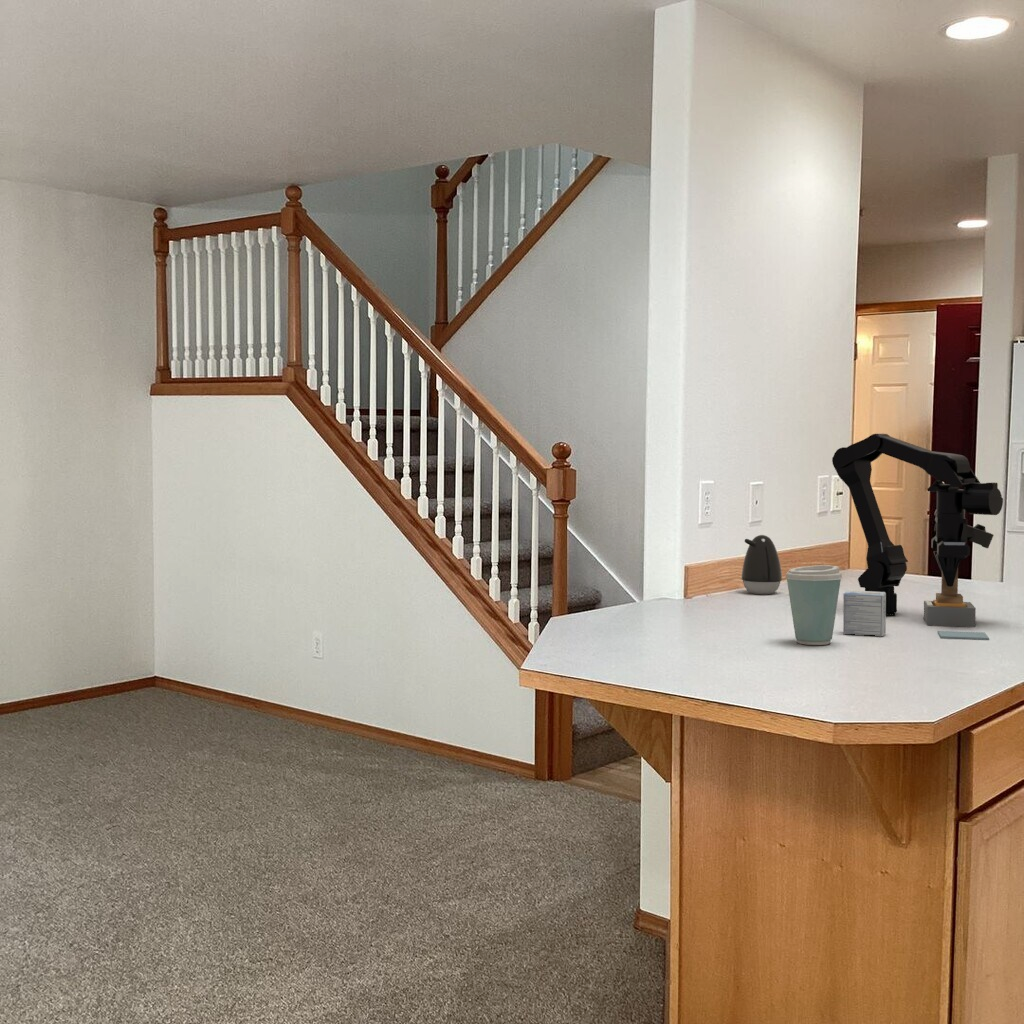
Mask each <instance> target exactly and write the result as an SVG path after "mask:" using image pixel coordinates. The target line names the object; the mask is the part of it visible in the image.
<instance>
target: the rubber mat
mask: <svg viewBox="0 0 1024 1024" xmlns="http://www.w3.org/2000/svg"><path fill="white" fill-rule="evenodd" d="M937 634H938V636H939V638H940V639H948V640H949V639H951V640H952V639H954V640H957V639H958V640H978V641H979V640H981V641H989V640H990V637H989V636H988V634H986V632H981V631H979V632H978V631H958V630H957V631H953V630H937Z"/></svg>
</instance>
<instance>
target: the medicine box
mask: <svg viewBox="0 0 1024 1024" xmlns="http://www.w3.org/2000/svg"><path fill="white" fill-rule="evenodd" d="M842 597H843V598H842V599H843V601H842V602H843V603H842V604H843V606H842V607H843V609H842V610H843V613H842V615H843V617H842V620H843V623H842V624H843V625H842V626H843V627H842V629H843V632H842V634H843V635H845V634H855V635H854V636H864V635H875V636H874V637H881V636H883V635H884V636H885V634H886V632H887V629H886V628H887V627H886V626H887V620H886V619H887V617H886V616H887V615H886V593H885V592H873V591H865V590H846V591H845V592H844V593H843V594H842ZM884 636H883V637H884Z"/></svg>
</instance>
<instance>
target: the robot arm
mask: <svg viewBox="0 0 1024 1024" xmlns="http://www.w3.org/2000/svg"><path fill="white" fill-rule="evenodd" d="M882 454H883V455H886V456H889V457H891V458H894V459H897V460H900V461H902V462H905V463H908V464H911V465H914V466H916V467H918V468H920V469H921V470H923V471H924V472H925V473H926V474H928V476H931V477H933V478H934V479H935V480H934V482H933V484H931V485H930V486H929V487H927V492H932V493H933V492H934V493H935V492H936V516H935V524H936V525H935V528H936V529H935V533H936V534H935V536H934V537H932V538H931V542H930V543H931V544H930V545H931V546H930V547H931V548H932V549H933V554H934V557H935V561H936V562H937V564H938V567H939V570H940V572H941V574H942V573H943V575H944V578H945V581H946V584H947V586H951V587H952V586H953V584H954V580H955V576H956V572H957V568H958V569H959V565H960V563H961V562H962V561H963V560H964V559H967V557H969V556H971V546H970V545H969V544H968V542H972V543H973V544H977V545H979V546H981V547H983V548H984V549H989V548H990V545H991V543H992V540H993V538H994V534H993V533H991V532H988V531H987V530H986V526H984V525H982V524H979V523H977V524H975V526H971V525H969V524H968V519H967V518H966V513H967V514H969V515H983V516H984V515H985V516H987V515H988V516H997V515H999V514H1000V513H1001V511H1002V509H1003V505H1004V498H1003V494H1002V493H1001V491H1000V489H999V488H998V486H999V483H998V482H986V483H985V482H984V483H983V482H981V481H980V480H979V478H978V477H977V475H976V474H975V472H974V471H973V470H972V468H971V463H970V461H969V459H968V458H967V457H966V456H965V455H962V454H957V453H950V452H941V451H934V450H933V451H932V450H930V449H927V448H924V447H921V446H918V445H915V444H913V443H910V442H907V441H904V440H902V439H898V438H896V437H893V436H890V435H889V434H887V433H873V434H871V435H869V436H868V437H866V438H864V439H862V440H859V441H857V442H855V443H851V444H850V445H848V446H847V447H846V446H845V447H840V448H838V449H836V451H835V452H834V454H833V456H832V458H831V460H832V461H831V462H832V465H833V468H834V470H835V472H836V473H837V476H838V477H839V479H841V481H842V482H843V483H844V484H845V485H846V486H847V487H848V489H849V492H850V496H851V498H852V501H853V504H854V507H855V509H856V513H857V516H858V519H859V522H860V526H861V528H862V531H863V534H864V537H865V540H866V542H867V543H866V544H867V550H866V551H867V553H866V559H865V560H866V564H867V565H866V566H867V569H866V570H865V571H864V572H862V574H861V575H859V576H858V578H857V582H858V584H859V587H860V588H863V589H864V591H873V592H885V593H886V616H896V615H895V614H896V613H897V611H898V610H897V609H898V607H897V606H898V604H897V603H898V594H897V592H895V587H900V583H901V581H902V578H903V577H904V576H905V574H906V572H907V570H908V566H907V563H908V562H909V560H908V559H907V558H906V556H905V552H904V548H903V545H902V544H896V545H895V544H894V543H893V542H892V541H891V539H890V537H889V534H888V531H887V529H886V525H885V523H884V519H883V516H882V513H881V511H880V508H879V505H878V502H877V498H876V496H875V493H874V490H873V487H872V484H871V478H872V477H871V476H872V462H874V461H875V460H878V459H879V458H880V457H881V456H882ZM944 482H945V483H944ZM961 488H963V489H961ZM935 549H936V550H935Z"/></svg>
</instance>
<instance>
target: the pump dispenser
mask: <svg viewBox="0 0 1024 1024" xmlns="http://www.w3.org/2000/svg"><path fill="white" fill-rule="evenodd" d="M744 543H745V544H747V545H748V548H747V550H746V552H745V556H744V558H743V559H744V560H743V564H742V571H741V580H742V582H743V583H742V584H743V586H744V588H745V589H746V591H747V592H749V593H750V594H753V595H758V596H759V595H761V596H762V595H763V596H764V595H772V594H773V593H775V592H777V590H778V589H779V587H780V586H781V585H780V584H781V581H782V579H783V574H782V573H783V572H782V566H781V562H780V561H781V560H780V557H779V554H778V551H777V548H776V545H775V543H774V541H773V540H772V539H771V538H770V536H767V535H764V534H760V535H757V536H755V537H754V538H753V539H749V538H745V539H744Z"/></svg>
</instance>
